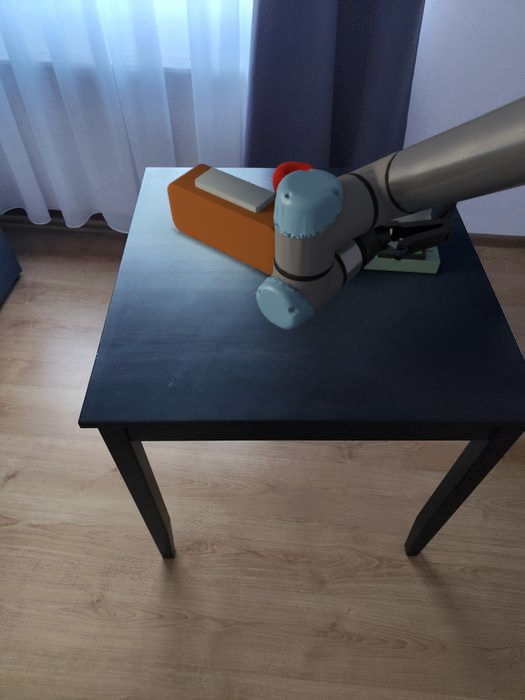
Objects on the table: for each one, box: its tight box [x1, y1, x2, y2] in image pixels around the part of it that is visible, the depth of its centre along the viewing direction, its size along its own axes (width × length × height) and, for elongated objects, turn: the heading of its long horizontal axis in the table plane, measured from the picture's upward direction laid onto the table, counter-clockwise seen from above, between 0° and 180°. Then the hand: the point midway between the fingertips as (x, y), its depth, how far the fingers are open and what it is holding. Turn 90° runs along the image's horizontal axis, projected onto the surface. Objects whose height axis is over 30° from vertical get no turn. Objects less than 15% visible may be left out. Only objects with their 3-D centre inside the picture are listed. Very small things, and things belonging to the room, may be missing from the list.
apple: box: [272, 161, 316, 194], centre depth 92 cm, size 9×9×8 cm
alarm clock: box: [166, 163, 276, 276], centre depth 83 cm, size 24×8×11 cm, turn 54°
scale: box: [362, 215, 441, 274], centre depth 85 cm, size 13×13×4 cm
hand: (416, 188), depth 79 cm, fingers open, 13 cm apart
